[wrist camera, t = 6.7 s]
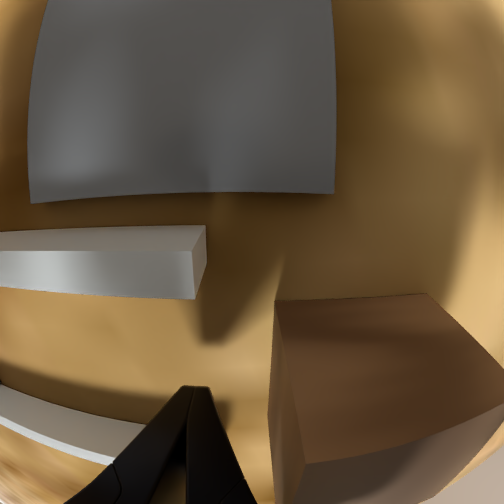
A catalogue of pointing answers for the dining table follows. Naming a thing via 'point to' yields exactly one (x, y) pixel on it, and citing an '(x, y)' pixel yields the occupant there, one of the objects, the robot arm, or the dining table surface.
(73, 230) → the channel
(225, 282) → the dining table surface
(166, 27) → the slate coaster
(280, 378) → the walnut block
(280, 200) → the dining table surface
